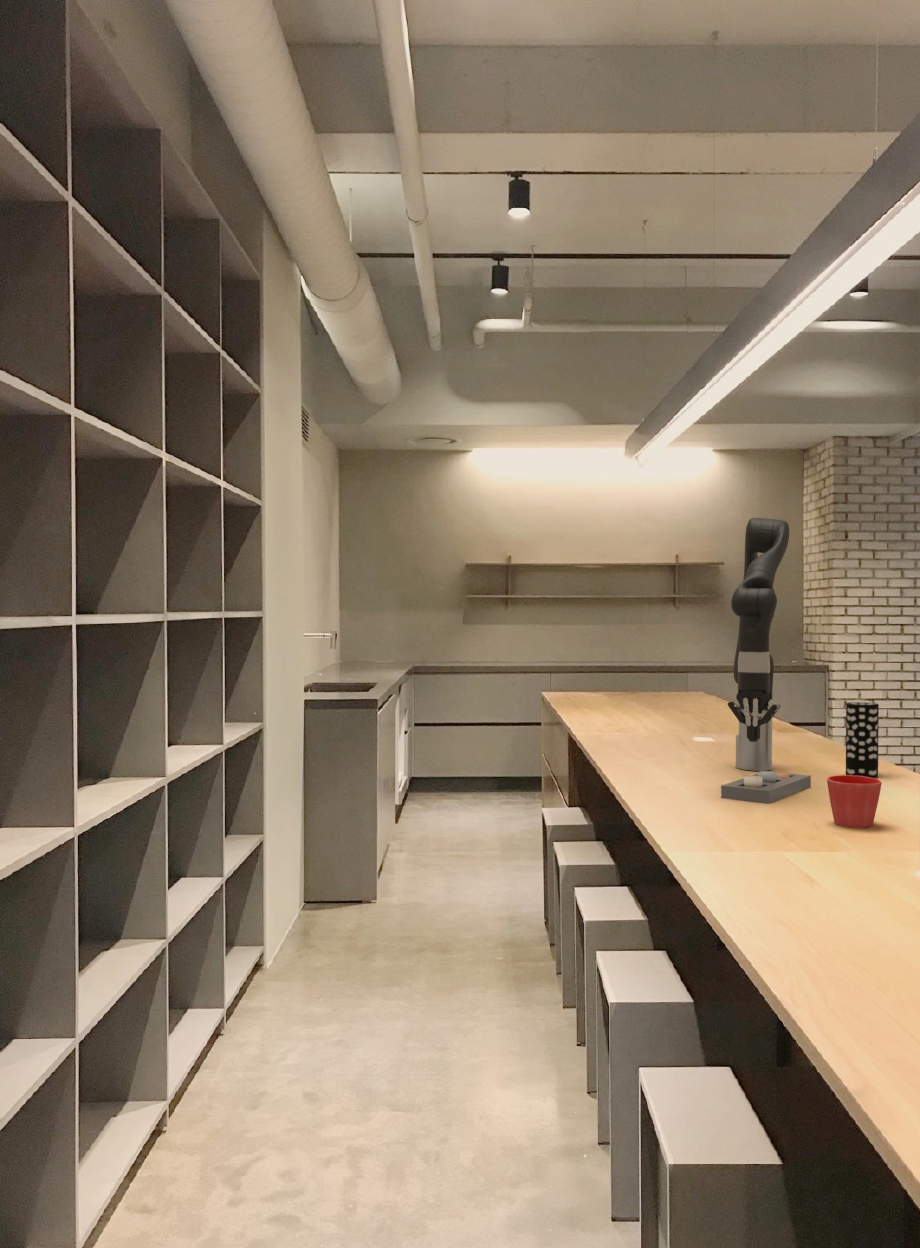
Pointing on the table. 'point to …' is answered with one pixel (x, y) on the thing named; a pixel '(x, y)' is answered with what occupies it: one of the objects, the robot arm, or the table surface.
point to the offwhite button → (753, 781)
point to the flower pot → (853, 799)
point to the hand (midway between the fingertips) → (753, 741)
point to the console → (766, 789)
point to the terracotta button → (782, 775)
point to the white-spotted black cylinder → (862, 739)
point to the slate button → (767, 776)
